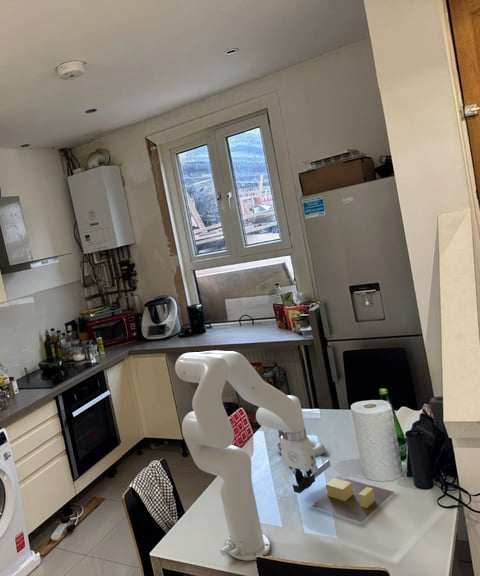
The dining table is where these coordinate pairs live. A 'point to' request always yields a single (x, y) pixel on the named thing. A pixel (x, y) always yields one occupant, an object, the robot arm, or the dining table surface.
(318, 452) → the donut
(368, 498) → the butter pat
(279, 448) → the grey chess piece
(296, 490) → the knife
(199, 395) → the robot arm
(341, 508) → the butter board
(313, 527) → the dining table surface
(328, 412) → the dining table surface
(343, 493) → the butter block
